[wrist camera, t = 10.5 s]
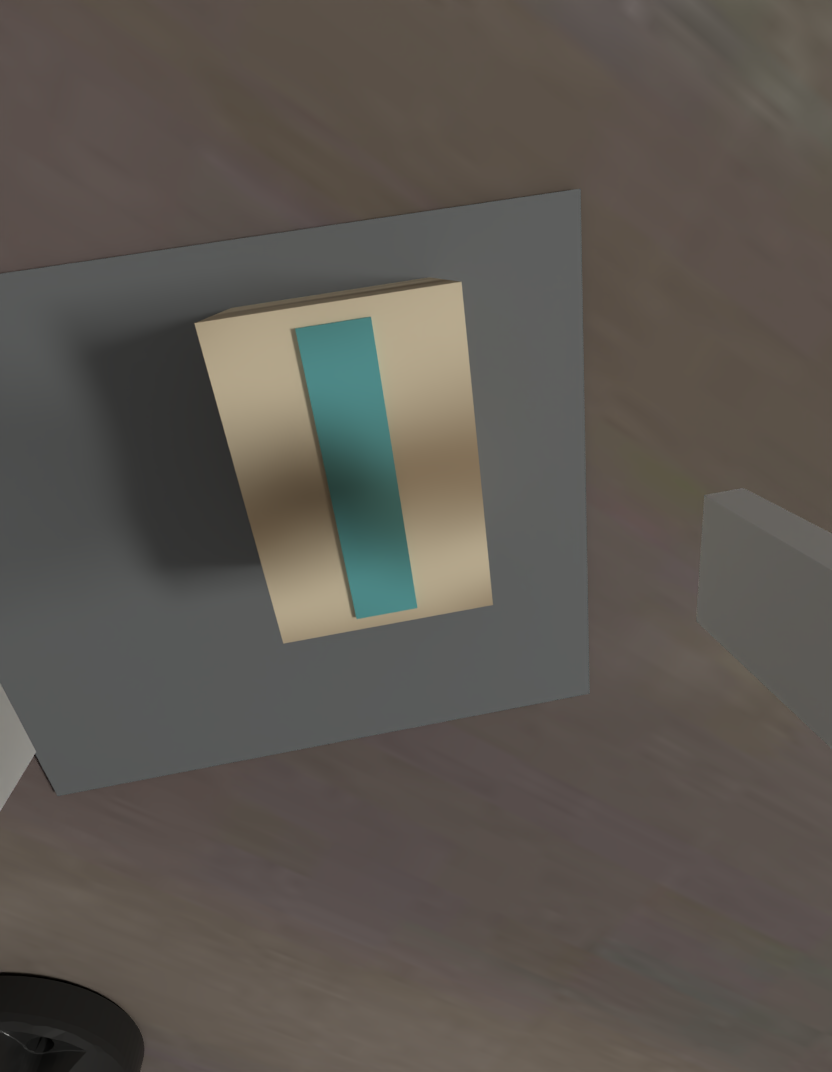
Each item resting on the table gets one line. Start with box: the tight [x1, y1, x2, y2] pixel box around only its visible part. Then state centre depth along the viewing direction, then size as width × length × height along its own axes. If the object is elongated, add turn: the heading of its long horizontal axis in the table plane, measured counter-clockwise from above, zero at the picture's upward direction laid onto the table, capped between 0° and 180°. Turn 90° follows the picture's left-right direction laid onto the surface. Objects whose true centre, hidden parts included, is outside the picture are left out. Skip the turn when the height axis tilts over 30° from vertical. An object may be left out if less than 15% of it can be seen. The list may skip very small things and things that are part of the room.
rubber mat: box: [0, 189, 590, 796], centre depth 25 cm, size 26×22×1 cm
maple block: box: [194, 277, 493, 644], centre depth 20 cm, size 10×7×6 cm
